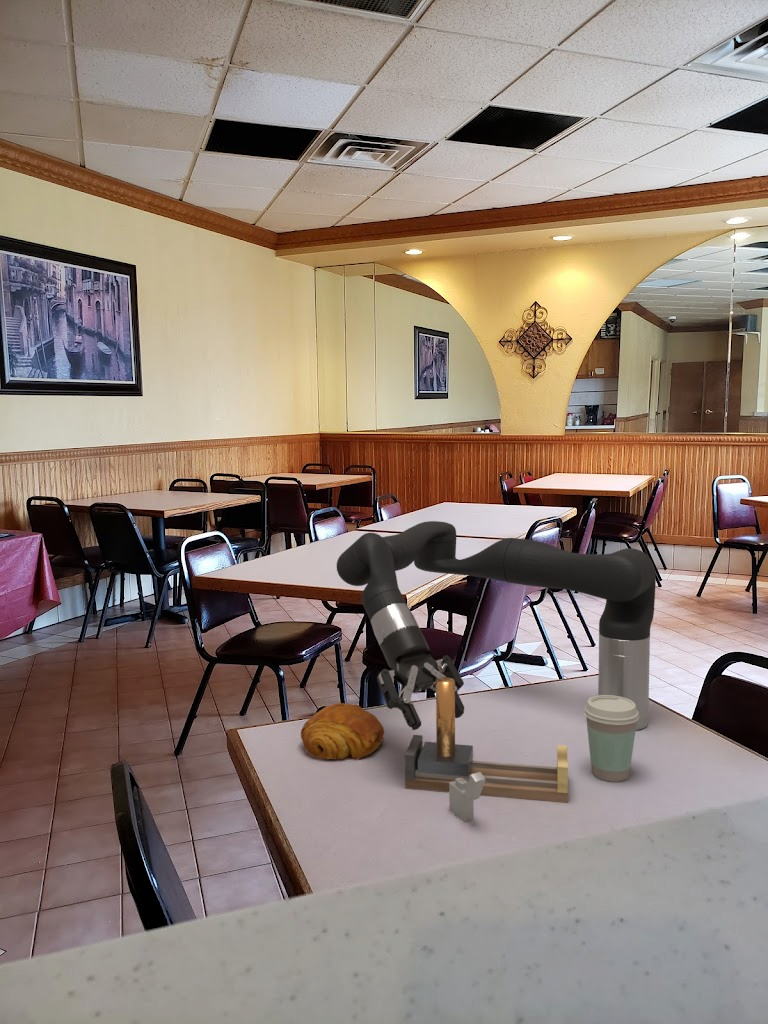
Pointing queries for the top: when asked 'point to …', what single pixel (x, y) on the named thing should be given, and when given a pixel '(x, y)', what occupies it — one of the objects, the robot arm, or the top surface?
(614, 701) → the coffee cup
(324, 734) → the croissant
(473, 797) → the lighter
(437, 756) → the carriage
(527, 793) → the rail track
